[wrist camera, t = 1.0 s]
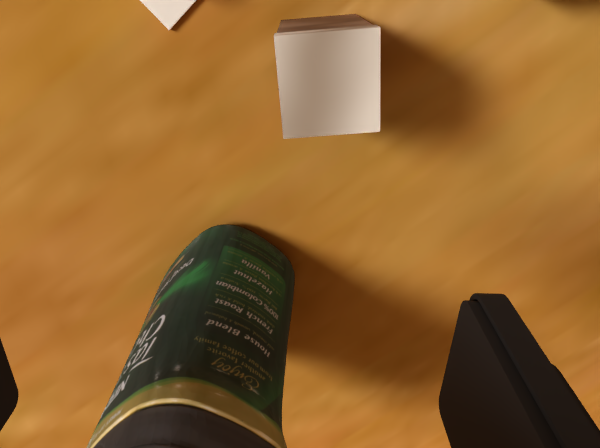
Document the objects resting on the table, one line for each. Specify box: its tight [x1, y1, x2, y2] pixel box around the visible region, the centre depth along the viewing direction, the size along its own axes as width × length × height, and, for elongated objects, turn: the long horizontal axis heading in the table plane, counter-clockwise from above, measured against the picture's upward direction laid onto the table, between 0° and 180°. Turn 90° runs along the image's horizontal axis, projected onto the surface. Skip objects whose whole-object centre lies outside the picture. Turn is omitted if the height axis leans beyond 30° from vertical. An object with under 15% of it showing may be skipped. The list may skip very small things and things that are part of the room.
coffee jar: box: [87, 225, 295, 448], centre depth 25 cm, size 10×8×19 cm
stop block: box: [274, 14, 380, 139], centre depth 23 cm, size 4×4×8 cm
